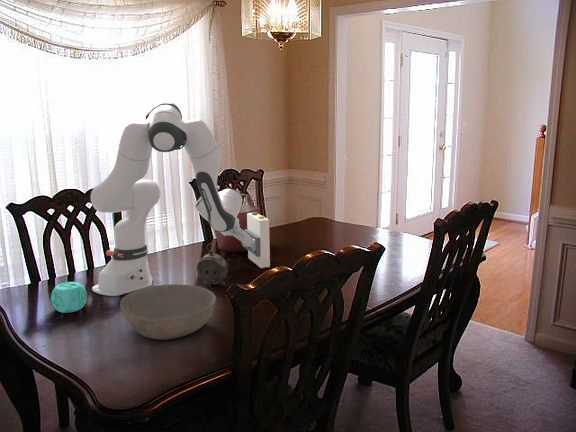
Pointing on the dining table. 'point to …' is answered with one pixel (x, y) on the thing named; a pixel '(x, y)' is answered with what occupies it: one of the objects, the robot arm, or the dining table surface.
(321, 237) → the dining table surface
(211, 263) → the alarm clock
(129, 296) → the bowl
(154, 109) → the robot arm
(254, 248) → the button lit
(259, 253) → the button panel
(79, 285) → the decorative dice
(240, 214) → the bucket
